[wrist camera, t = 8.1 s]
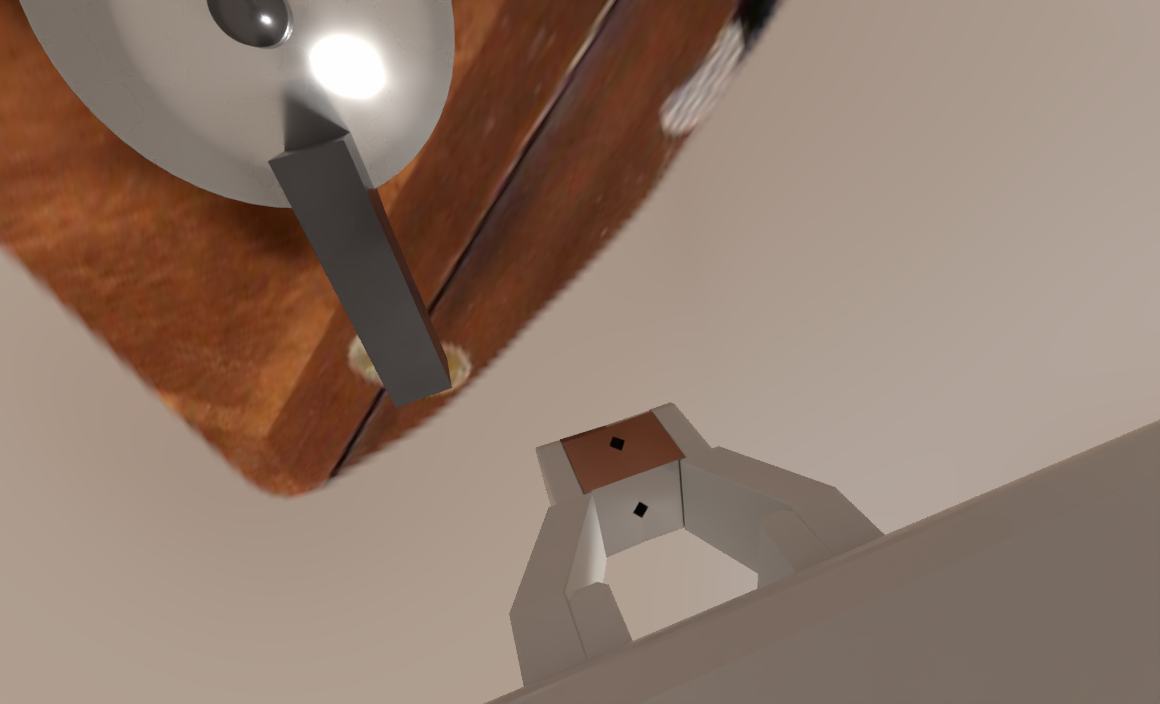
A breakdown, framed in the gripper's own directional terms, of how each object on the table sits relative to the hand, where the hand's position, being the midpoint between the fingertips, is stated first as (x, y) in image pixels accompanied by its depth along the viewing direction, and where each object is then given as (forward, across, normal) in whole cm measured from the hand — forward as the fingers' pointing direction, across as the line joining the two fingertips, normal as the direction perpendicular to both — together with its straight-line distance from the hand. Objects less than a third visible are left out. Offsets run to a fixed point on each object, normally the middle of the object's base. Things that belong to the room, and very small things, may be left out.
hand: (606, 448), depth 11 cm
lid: (+15, +5, -6) cm, 17 cm away
